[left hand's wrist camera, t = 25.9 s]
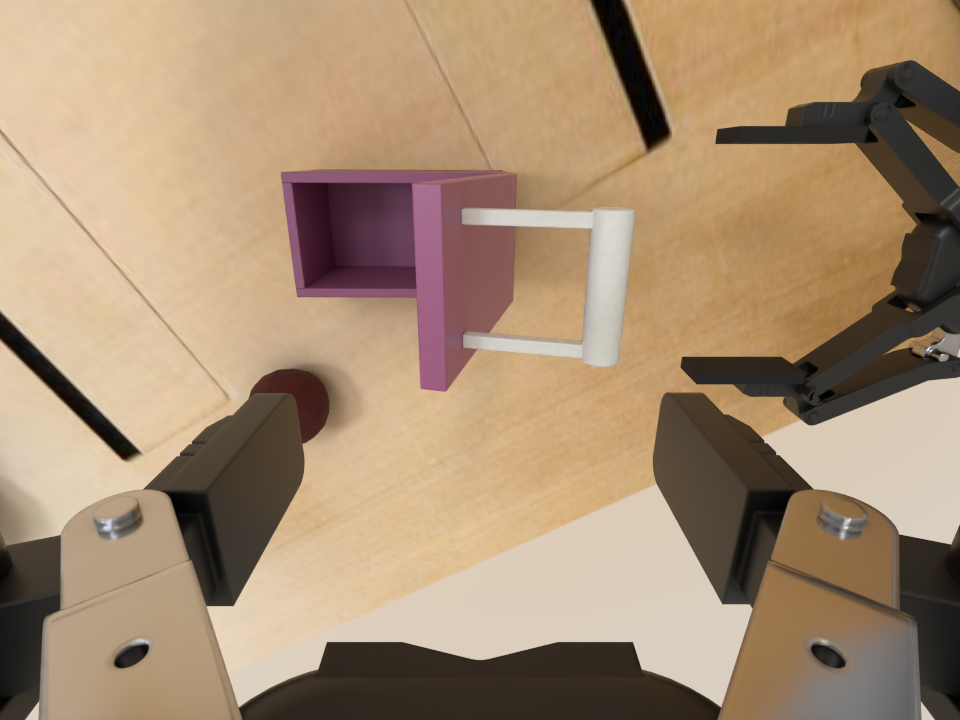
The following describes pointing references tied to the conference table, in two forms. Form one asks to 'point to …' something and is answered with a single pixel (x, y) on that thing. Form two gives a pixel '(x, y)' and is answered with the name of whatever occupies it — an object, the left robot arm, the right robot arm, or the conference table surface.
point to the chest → (355, 230)
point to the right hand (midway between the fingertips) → (705, 262)
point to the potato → (299, 397)
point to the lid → (504, 274)
